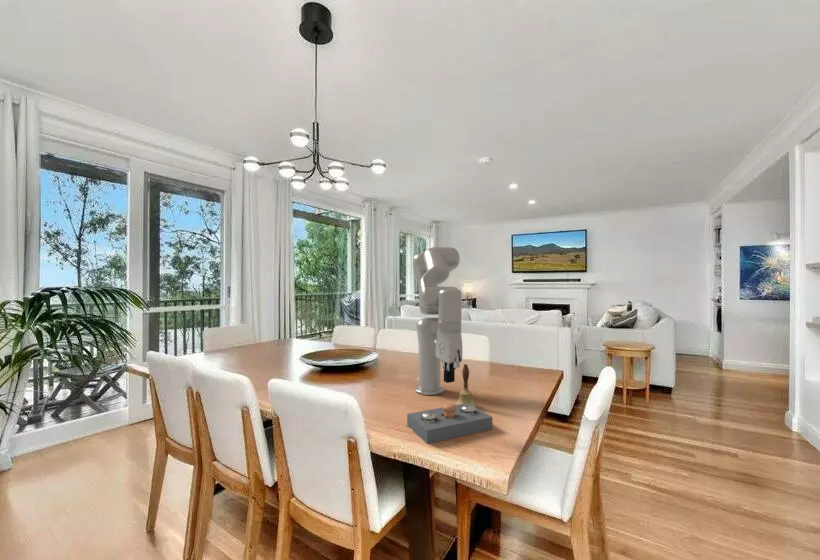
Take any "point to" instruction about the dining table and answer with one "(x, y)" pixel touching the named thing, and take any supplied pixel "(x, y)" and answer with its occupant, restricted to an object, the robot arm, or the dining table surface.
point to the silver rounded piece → (468, 409)
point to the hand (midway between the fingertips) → (449, 381)
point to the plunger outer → (429, 416)
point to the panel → (448, 424)
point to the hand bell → (466, 389)
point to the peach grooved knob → (449, 410)
